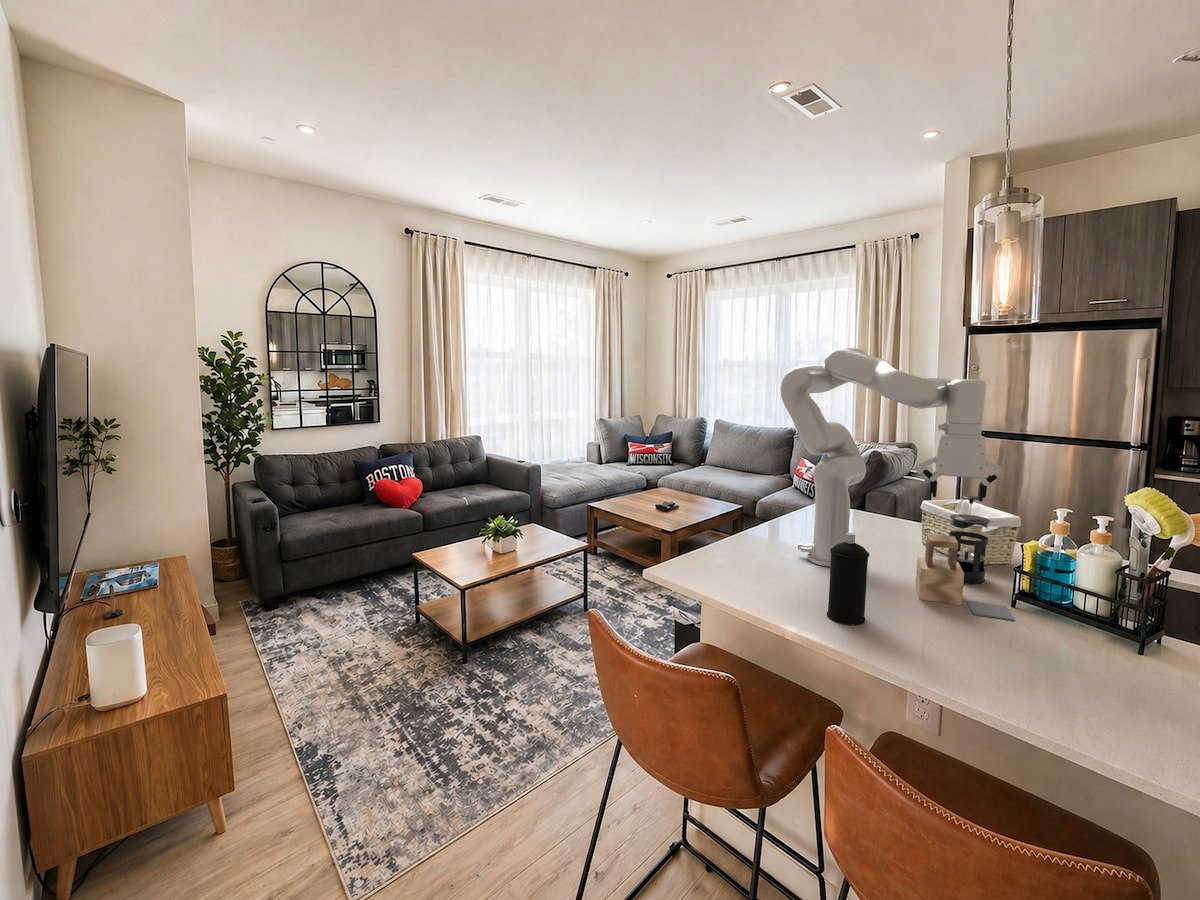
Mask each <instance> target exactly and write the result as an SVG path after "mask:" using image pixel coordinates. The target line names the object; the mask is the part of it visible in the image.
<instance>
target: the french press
mask: <svg viewBox="0 0 1200 900" xmlns="http://www.w3.org/2000/svg"><path fill="white" fill-rule="evenodd" d="M961 497H962V498H963V499H965V500H969V503H970V512H969V515H965V514H955V515H951V516H950V518H951V519H952V525H953V526H955V527H958V528H968V532H964V531H958V530H951V532H950V533H949V536H954V537H955V538H956V540H957V542H958V552H957V562H958V563H959V565H960V567H961V569H962V571H963V572H964V582H963V585H964V584H965V585H972V584H979V585H983V584H985V583H986V579H985V578H986V577H985V576H986V568H985V565H984V562H985V551H986V545H987V544H988V538H987V537H986V536H984V535H981V534H977V533H972V532H969V530H970V526H972V525H976V524H978V525H982V526H984V527H985V528H987V525H988V523H990V520H989V519H986V518H983V517H979V516H974V515H971V508H972V504H973V502H975V501H978V495H962V496H961ZM961 536H967V540H965V539H961ZM969 537H973V538H978V539H981V541H972V540H969ZM961 544H965V545H967V546H966V551H960V545H961ZM968 545H973V546H974V553H972V552H968ZM948 551H949V550H948ZM984 582H985V583H984ZM982 583H983V584H982Z"/></svg>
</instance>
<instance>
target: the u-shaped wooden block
mask: <svg viewBox="0 0 1200 900" xmlns="http://www.w3.org/2000/svg"><path fill="white" fill-rule="evenodd" d="M934 547H942V548H949V551H948V556H947V561H948V565H949V567H950V569H951V570H953V571H956V564H957V552H958V542H957V540H956V538H955V537H954V536H945V535H935V534H927V540H926V545H925V555H924V558H925V562H926V564H927V567H928V568H932V564H933V559H934V551H935V549H934Z"/></svg>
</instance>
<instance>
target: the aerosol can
mask: <svg viewBox="0 0 1200 900" xmlns="http://www.w3.org/2000/svg"><path fill="white" fill-rule="evenodd" d="M830 552H831V565H830V567H829V568H830V569H829V585H828V586H829V587H828V588H829V589H828V606H827V607H828V608H827V612H826V616H827V618H829V619H830V620H831V621H832V622H835V623H838V624H840V625H841V624H842V625H846V626H860V625H863V624H865V622H866V617H865V611H866V598H867V597H866V596H867V595H866V594H867V580H868V564H869V558H870V553H869V551H867V550H866V548H865V547H864V546H862V545H860V544H859V543H856V533H851V532H849V533H846V541H845V542H842V543H839V544H836V545H835V546H834V547H833V548H831V549H830Z"/></svg>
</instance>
